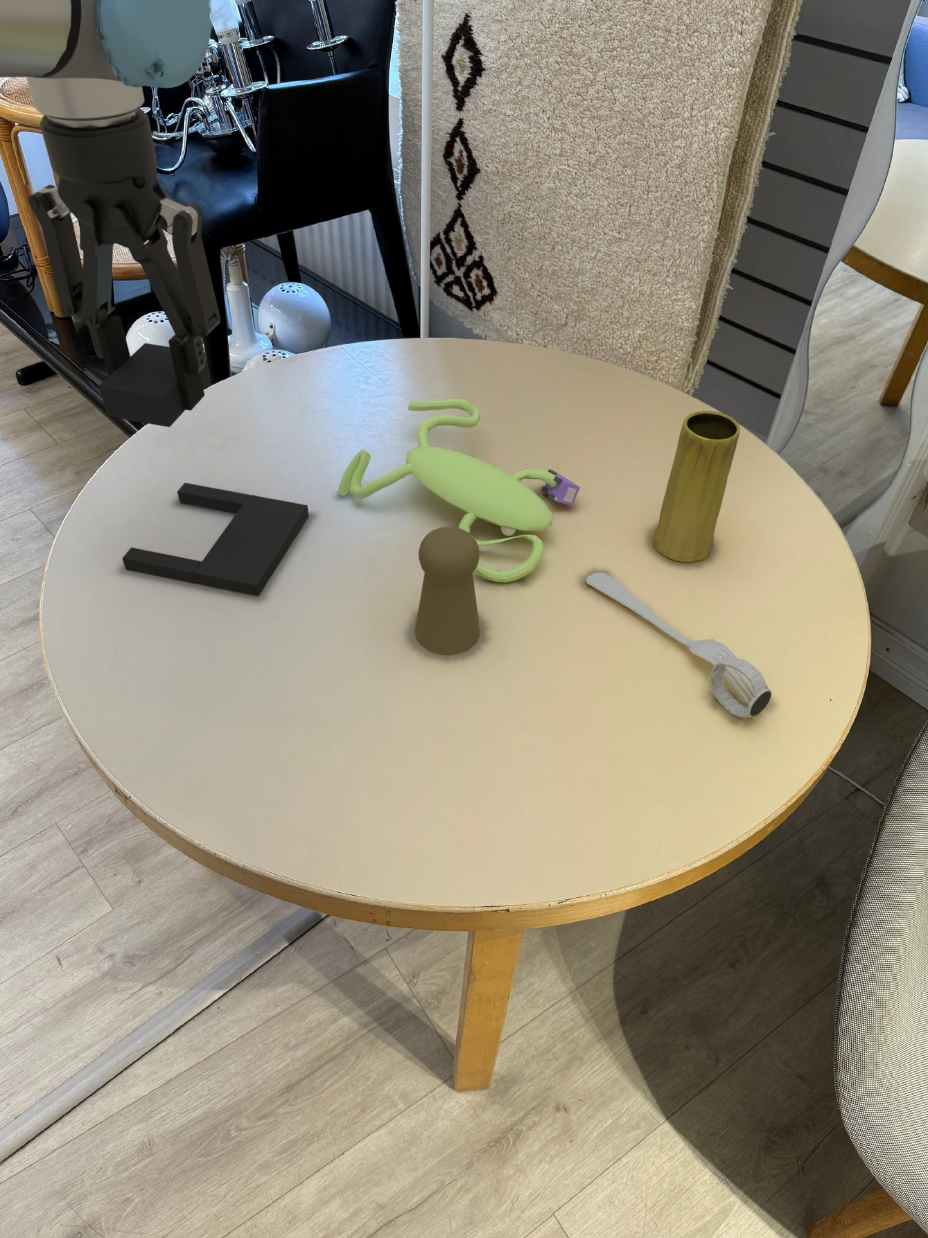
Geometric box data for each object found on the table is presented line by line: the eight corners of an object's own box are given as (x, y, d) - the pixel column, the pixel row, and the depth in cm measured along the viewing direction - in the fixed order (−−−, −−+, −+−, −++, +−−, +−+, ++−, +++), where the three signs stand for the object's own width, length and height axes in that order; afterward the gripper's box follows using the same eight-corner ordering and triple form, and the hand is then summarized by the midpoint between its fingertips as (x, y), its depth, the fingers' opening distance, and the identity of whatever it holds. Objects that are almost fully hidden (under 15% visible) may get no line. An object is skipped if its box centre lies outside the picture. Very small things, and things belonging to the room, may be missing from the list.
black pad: (309, 516, 95) (307, 504, 94) (258, 596, 86) (256, 585, 85) (187, 493, 98) (184, 482, 97) (125, 569, 88) (121, 558, 87)
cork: (452, 599, 87) (454, 507, 79) (493, 635, 83) (500, 542, 76) (401, 627, 84) (398, 534, 76) (442, 664, 81) (443, 571, 73)
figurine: (435, 420, 109) (435, 378, 106) (616, 514, 97) (624, 470, 93) (319, 484, 99) (315, 441, 95) (505, 599, 87) (509, 554, 83)
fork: (599, 589, 92) (600, 567, 90) (770, 698, 79) (776, 674, 77) (579, 601, 90) (580, 579, 89) (750, 713, 77) (755, 689, 76)
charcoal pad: (107, 416, 79) (98, 385, 77) (152, 372, 85) (144, 342, 83) (169, 427, 78) (162, 396, 76) (211, 382, 84) (205, 352, 82)
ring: (742, 732, 76) (758, 692, 72) (699, 695, 79) (711, 655, 75) (765, 717, 77) (781, 677, 74) (721, 681, 80) (735, 641, 77)
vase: (713, 532, 95) (747, 413, 85) (709, 568, 91) (743, 448, 81) (656, 521, 96) (682, 402, 86) (648, 556, 92) (675, 436, 82)
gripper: (237, 110, 66) (275, 391, 82) (7, 84, 69) (87, 361, 85) (189, 141, 61) (240, 435, 77) (-57, 112, 64) (41, 401, 80)
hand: (159, 396), depth 81 cm, fingers closed on charcoal pad, 6 cm apart
